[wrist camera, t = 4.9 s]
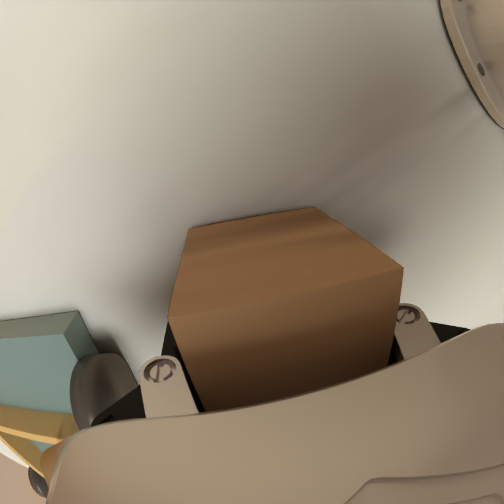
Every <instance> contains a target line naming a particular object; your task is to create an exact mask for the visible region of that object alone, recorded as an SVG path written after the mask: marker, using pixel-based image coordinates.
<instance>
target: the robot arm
mask: <svg viewBox="0 0 504 504" xmlns="http://www.w3.org/2000/svg"><path fill="white" fill-rule="evenodd" d="M440 2H441V9H442V13H443V17H444V21H445V24H446V27H447V30H448V33H449V36H450V39H451V41H452V44H453V46H454V49H455V51H456V54H457V56H458V58H459V60H460V62H461V65H462V67H463V69H464V71H465V73H466V75H467V77H468V79H469V81H470V83H471V85H472V87H473V89H474V90H475V92H476V94H477V96H478V97H479V99H480V101H481V102H482V104H483V105H484V107H485V108H486V110H487V111H488V113H489V114H490V115H491V117H492V118H493V119H494V120H495V121H496V122H497V124H498V125H500V126H501V127H502V128H504V0H440ZM139 379H140V385H139V386H138V387H136V388H135V389H133V390H132V391H131V392H129V393H128V394H127V395H125V396H124V397H122V398H121V399H120V400H118V401H117V402H115V403H114V404H113V405H111V406H110V407H108V408H107V409H105V410H104V411H103V412H101V413H100V414H99V415H97V416H96V417H95V418H94V420H93V421H92V424H91V427H90V428H87V429H83V430H81V431H79V432H77V433H76V434H74V435H72V436H70V437H68V438H66V439H64V440H62V441H61V442H59V443H57V444H55V445H53V446H51V447H49V448H47V449H46V450H45V451H44V452H43V453H42V455H41V458H40V466H41V469H42V472H43V475H44V478H45V480H46V483H47V486H48V488H49V491H48V495H47V500H46V504H504V323H495V324H488V325H484V326H480V327H477V328H474V329H472V330H470V329H467V328H462V327H456V326H450V325H445V324H439V323H433V322H429V321H428V319H427V317H426V316H425V314H424V312H423V311H422V310H421V309H420V308H419V307H417V306H415V305H413V304H408V303H399V309H398V315H397V321H396V327H395V332H394V337H393V342H392V347H391V352H390V356H389V361H388V365H387V367H385V368H382V369H379V370H377V371H374V372H371V373H368V374H366V375H363V376H360V377H357V378H354V379H351V380H348V381H345V382H342V383H338V384H335V385H332V386H329V387H325V388H322V389H318V390H314V391H311V392H307V393H303V394H299V395H295V396H291V397H287V398H283V399H278V400H274V401H269V402H264V403H259V404H254V405H249V406H243V407H237V408H231V409H225V410H218V411H210V412H206V411H205V409H204V407H203V405H202V402H201V400H200V398H199V396H198V394H197V391H196V389H195V387H194V384H193V382H192V380H191V377H190V375H189V373H188V370H187V368H186V366H185V363H184V361H183V358H182V356H181V353H180V351H179V348H178V345H177V343H176V340H175V338H174V335H173V332H172V330H171V327H170V324H169V321H168V323H167V328H166V333H165V338H164V343H163V348H162V354H161V356H157V357H154V358H152V359H150V360H149V361H147V362H146V363H145V364H144V365H143V366H142V367H141V369H140V371H139Z"/></svg>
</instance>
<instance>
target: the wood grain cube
mask: <svg viewBox="0 0 504 504" xmlns="http://www.w3.org/2000/svg"><path fill="white" fill-rule="evenodd" d="M403 269H404V267H402V266H401V265H400V264H398V263H397V262H395V261H394V260H393V259H391V258H390V257H388V256H387V255H386V254H384V253H383V252H381V251H380V250H378V249H377V248H376V247H374V246H373V245H371V244H370V243H368V242H367V241H365V240H364V239H362V238H361V237H359V236H358V235H356V234H355V233H353V232H352V231H350V230H349V229H347V228H346V227H344V226H343V225H341V224H340V223H338V222H337V221H335V220H333V219H332V218H330V217H329V216H327V215H326V214H324V213H322V212H321V211H319V210H318V209H316V208H314V207H312V208H305V209H299V210H293V211H286V212H280V213H274V214H268V215H262V216H257V217H251V218H245V219H239V220H234V221H228V222H223V223H217V224H212V225H207V226H202V227H196V228H191V229H189V231H188V234H187V238H186V242H185V245H184V249H183V253H182V257H181V261H180V265H179V269H178V273H177V277H176V281H175V285H174V289H173V294H172V298H171V302H170V307H169V311H168V316H167V319H168V321H169V324H170V327H171V330H172V332H173V335H174V338H175V340H176V343H177V345H178V348H179V351H180V353H181V356H182V358H183V361H184V363H185V366H186V368H187V370H188V373H189V375H190V377H191V380H192V382H193V384H194V387H195V389H196V391H197V394H198V396H199V398H200V400H201V402H202V405H203V407H204V409H205V411H206V412H210V411H218V410H225V409H231V408H237V407H243V406H249V405H254V404H259V403H264V402H269V401H274V400H278V399H283V398H287V397H291V396H295V395H299V394H303V393H307V392H311V391H314V390H318V389H322V388H325V387H329V386H332V385H335V384H338V383H342V382H345V381H348V380H351V379H354V378H357V377H360V376H363V375H366V374H368V373H371V372H374V371H377V370H379V369H382V368H385V367H387V365H388V361H389V356H390V352H391V347H392V342H393V337H394V332H395V327H396V321H397V315H398V309H399V302H400V295H401V287H402V278H403Z"/></svg>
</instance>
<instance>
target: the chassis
mask: <svg viewBox="0 0 504 504" xmlns="http://www.w3.org/2000/svg"><path fill="white" fill-rule="evenodd" d="M136 387H137V384H136V381H135V378H134V376H133V373H132V371H131V369H130V368H129V366H128V364H127V363H126V361H125V360H124V359H123V358H122V357H121V356H120V355H118V354H116V353H104V354H99V352H98V350H97V348H96V346H95V345H94V343H93V341H92V339H91V337H90V335H89V333H88V331H87V329H86V327H85V324H84V322H83V320H82V318H81V316H80V314H79V311H73V312H66V313H59V314H52V315H45V316H37V317H30V318H22V319H14V320H6V321H0V440H1V441H2V442H3V443H4V444H5V445H7V446H8V447H9V448H10V449H11V450H12V451H13V452H14V453H15V454H16V455H17V456H18V457H19V458H20V459H22V460H23V461H24V462H25V463H26V464H27V465H29V471H28V475H29V480H30V483H31V486H32V487H33V489H34V490H35V491H36V493H37V494H39V495H40V496H42V497H45V498H47V495H48V491H49V488H48V486H47V483H46V480H45V478H44V475H43V472H42V469H41V466H40V458H41V455H42V453H43V452H44V451H45V450H46V449H47V448H49V447H51V446H53V445H55V444H57V443H59V442H61V441H62V440H64V439H66V438H68V437H70V436H72V435H74V434H76V433H77V432H79V431H81V430H83V429H87V428H90V427H91V424H92V421H93V420H94V418H95V417H96V416H97V415H99V414H100V413H101V412H103V411H104V410H105V409H107V408H108V407H110V406H111V405H113V404H114V403H115V402H117V401H118V400H120V399H121V398H122V397H124V396H125V395H127V394H128V393H129V392H131V391H132V390H133V389H135V388H136Z"/></svg>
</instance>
